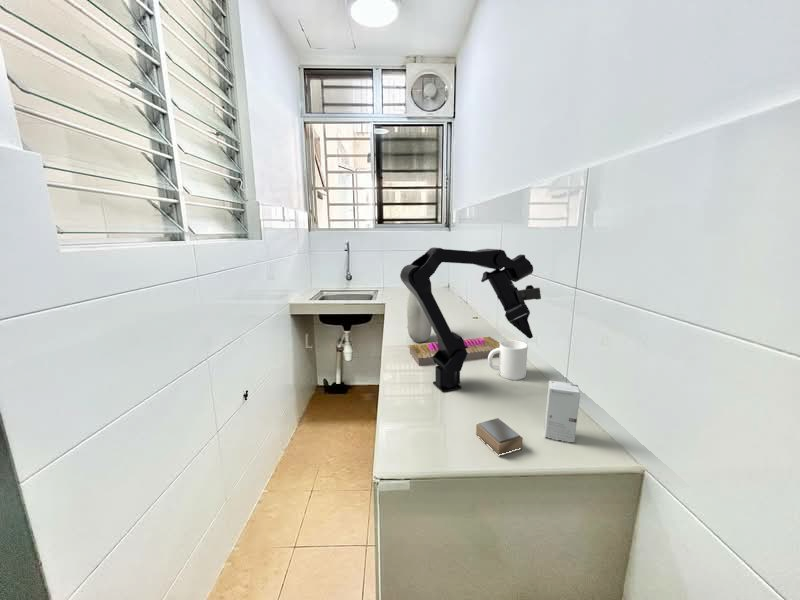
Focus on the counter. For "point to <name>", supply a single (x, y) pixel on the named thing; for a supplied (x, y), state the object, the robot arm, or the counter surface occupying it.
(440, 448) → the counter surface
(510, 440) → the block
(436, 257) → the robot arm
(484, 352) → the rafter model
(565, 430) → the skincare box
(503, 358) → the mug
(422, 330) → the glass bottle
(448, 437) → the counter surface
